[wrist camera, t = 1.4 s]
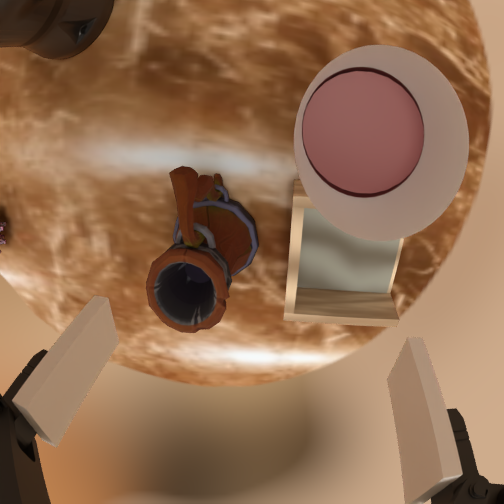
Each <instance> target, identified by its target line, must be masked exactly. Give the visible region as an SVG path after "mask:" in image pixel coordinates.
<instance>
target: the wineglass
mask: <svg viewBox="0 0 504 504" xmlns="http://www.w3.org/2000/svg"><path fill="white" fill-rule="evenodd" d="M294 153H295V161H296V166H297V170H298V174H299V177H300V180H301V182H302V185H303V187H304V189H305V192H306V194H307V195H308V197H309V199H310V200H311V202H312V203H313V205H314V206H315V207H316V209H317V210H318V211H319V212H320V213H321V214H322V216H323V217H324V218H325V219H327V220H328V221H329V222H330V223H331V224H333V225H334V226H335V227H337V228H338V229H340V230H342V231H343V232H345V233H347V234H350V235H352V236H355V237H357V238H361V239H365V240H370V241H391V240H398V239H401V238H405V237H408V236H411V235H413V234H415V233H417V232H419V231H421V230H423V229H424V228H426V227H427V226H429V225H430V224H432V223H433V222H434V221H435V220H436V219H437V218H438V217H439V216H440V215H442V213H443V212H444V211H445V210H446V208H447V207H448V206H449V205H450V203H451V202H452V200H453V199H454V197H455V195H456V194H457V192H458V190H459V187H460V185H461V183H462V180H463V178H464V174H465V170H466V167H467V161H468V153H469V134H468V127H467V121H466V117H465V114H464V110H463V107H462V104H461V102H460V100H459V98H458V96H457V94H456V92H455V90H454V89H453V87H452V86H451V84H450V83H449V81H448V80H447V79H446V77H445V76H444V75H443V74H442V73H441V72H440V71H439V70H438V69H437V68H436V67H435V66H434V65H432V64H431V63H430V62H429V61H427V60H426V59H424V58H423V57H421V56H419V55H417V54H416V53H414V52H411V51H409V50H406V49H403V48H400V47H395V46H389V45H369V46H364V47H359V48H355V49H353V50H350V51H348V52H346V53H343V54H341V55H340V56H338V57H337V58H335V59H334V60H332V61H331V62H329V63H328V64H327V65H326V66H325V67H324V68H323V69H322V70H321V71H320V72H319V73H318V74H317V76H316V77H315V78H314V80H313V81H312V82H311V84H310V85H309V87H308V89H307V91H306V93H305V94H304V96H303V98H302V101H301V104H300V107H299V110H298V113H297V117H296V123H295V129H294Z"/></svg>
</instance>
